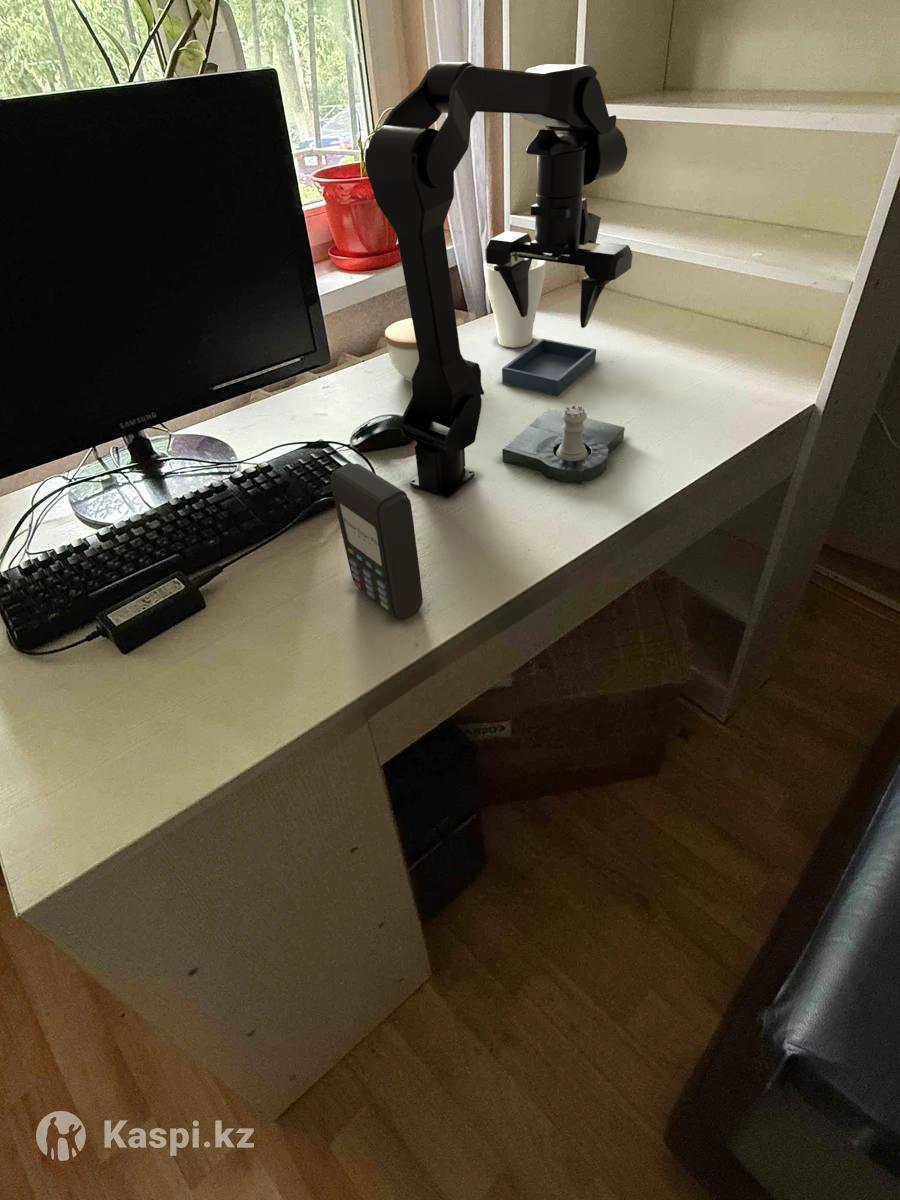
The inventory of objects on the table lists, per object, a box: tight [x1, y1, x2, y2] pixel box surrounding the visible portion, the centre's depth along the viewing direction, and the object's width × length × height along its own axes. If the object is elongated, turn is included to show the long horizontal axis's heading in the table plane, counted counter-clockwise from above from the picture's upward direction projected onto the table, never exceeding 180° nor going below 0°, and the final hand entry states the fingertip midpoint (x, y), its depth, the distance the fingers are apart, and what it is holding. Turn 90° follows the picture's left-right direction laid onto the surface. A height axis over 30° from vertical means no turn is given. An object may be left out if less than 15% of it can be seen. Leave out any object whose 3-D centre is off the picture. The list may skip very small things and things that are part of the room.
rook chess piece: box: [556, 404, 588, 461], centre depth 90 cm, size 4×4×8 cm
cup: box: [483, 259, 547, 349], centre depth 119 cm, size 10×10×14 cm
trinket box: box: [384, 317, 419, 383], centre depth 113 cm, size 11×11×9 cm
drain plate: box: [501, 408, 626, 486], centre depth 94 cm, size 14×13×2 cm
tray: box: [501, 338, 597, 397], centre depth 112 cm, size 13×10×3 cm
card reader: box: [330, 462, 423, 620], centre depth 70 cm, size 9×4×15 cm, turn 42°
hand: (553, 321), depth 95 cm, fingers open, 9 cm apart
